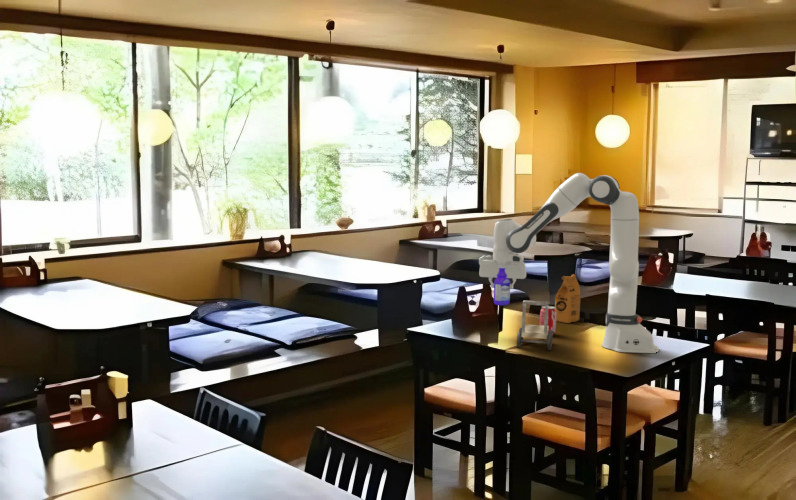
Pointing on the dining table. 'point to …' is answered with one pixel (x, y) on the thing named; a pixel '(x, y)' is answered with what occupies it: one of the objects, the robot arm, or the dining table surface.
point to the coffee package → (568, 300)
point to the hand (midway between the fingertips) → (502, 288)
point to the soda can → (549, 318)
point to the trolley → (535, 327)
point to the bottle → (501, 287)
